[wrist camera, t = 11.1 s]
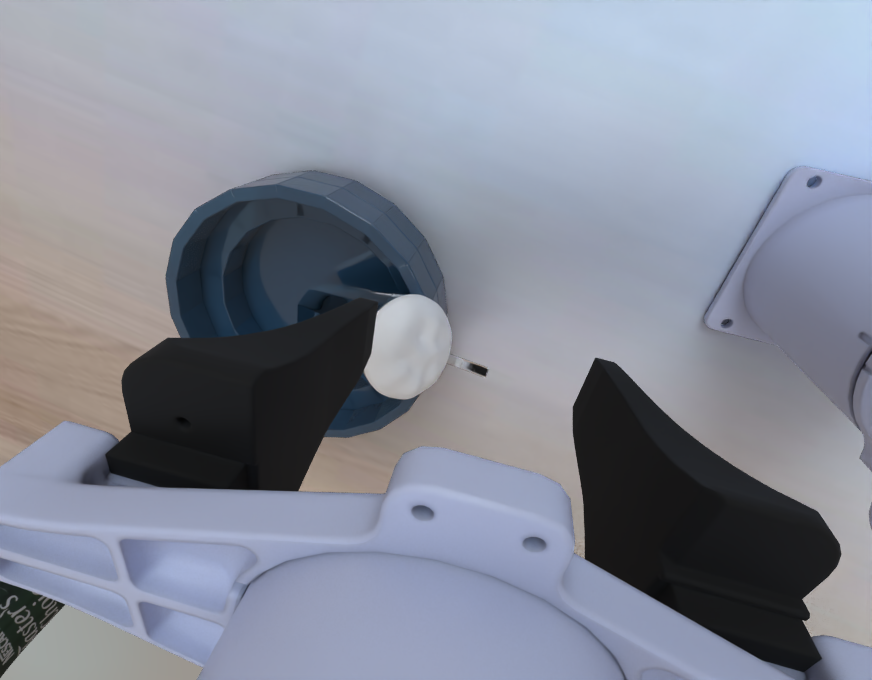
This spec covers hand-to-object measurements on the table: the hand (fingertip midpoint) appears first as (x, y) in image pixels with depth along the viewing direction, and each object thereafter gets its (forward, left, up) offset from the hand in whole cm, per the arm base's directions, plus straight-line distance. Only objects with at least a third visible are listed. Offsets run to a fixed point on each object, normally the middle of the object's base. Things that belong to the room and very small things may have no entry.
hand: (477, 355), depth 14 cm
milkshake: (+8, +5, -9) cm, 13 cm away
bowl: (+9, +5, -10) cm, 15 cm away
